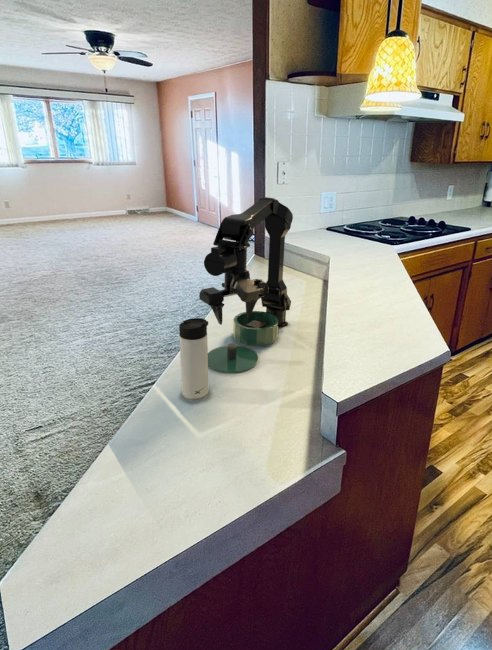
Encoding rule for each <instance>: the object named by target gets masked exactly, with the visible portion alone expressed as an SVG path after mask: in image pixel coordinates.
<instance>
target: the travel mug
mask: <svg viewBox="0 0 492 650" xmlns="http://www.w3.org/2000/svg"><path fill="white" fill-rule="evenodd" d="M208 326H209V321H208V320H207V319H205V318H202V317H192V318H188V319H185V320H182V322H181V323H180V324H179V326H178V329H179V330H178V331H179V334H178V335H179V356H180V357H179V358H180V374H181V375H180V377H181V394H182V395H181V396H182V398H183V399H185V400H187V401H190V402H196V401H197V402H198V401H201V400H204V399H205V398H207V397H208V395H209V367H208V353H209V349H208Z"/></svg>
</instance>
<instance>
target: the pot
mask: <svg viewBox="0 0 492 650" xmlns="http://www.w3.org/2000/svg"><path fill="white" fill-rule="evenodd" d="M253 320H256V321H259V322H263V323H266V327H265V328H249V327H246V324H248V323H250V322H252V321H253ZM232 322H233V324H232V325H233V330H232V332H233V333H232V334H233V335H232V336H233V339H234V342H236V343H238V344H240V345H241V346H242V345H243V346H244V347H253V348H259V347H266V346H270V345H273V344H274V343H276V342H277V340H278V337H279V336H278V335H279V327H278V319H277V317H276V316H274V315H273V314H271V313H267V312H266V311H261V310H253V311H252V314H251V316H250V317H247V314H246V311H244V312H240V313H238V314H236V315H235V316H234V317H233V321H232Z"/></svg>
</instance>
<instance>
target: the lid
mask: <svg viewBox="0 0 492 650" xmlns="http://www.w3.org/2000/svg"><path fill="white" fill-rule="evenodd" d="M258 362H259V355H258V354H257V352H255V351H254V350H253V349H252V348H250V347H247V346H244V345H243V346H242V345H237V344H236V343H235V342H230V343H228V344H227V345H223V346H218V347H215V348H213V349H211V350H209V351H208V368H210V369H211V370H213V371H214V372H215V371H216V372H218V373H224V374H238V373H243V372H247V371H249V370H251V369H253V368H254V367H255V366H256V365H257V364H258Z"/></svg>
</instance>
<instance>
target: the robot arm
mask: <svg viewBox="0 0 492 650" xmlns="http://www.w3.org/2000/svg"><path fill="white" fill-rule="evenodd" d="M293 219H294V215H293V213H292V211H291V210H290V208H289V207H288V206H286V205H284V204H283V203H281V202H280V201H279V200H278V199H277V198H276V197H267V196H262V197H260V198H259V199H258V201H256V202H255V203H254V204H252V205H251V206H250V207H248V208H247V209H245V210H244V211H243V212H241V213H236V214H235V213H234V214H231V215H230V214H229V215H228V216H225V217H224V218H223V219H222V221H221V222H220V225H219V227H218V230H217V232H216V235H215V238H214V240H213V244H212V245H213V246H212V247H211V248H210V252H209V253H207V254H206V255H205V257H204V260H203V267H204V269H205V270H206V272H207V273H208V274H209V275H211V276H213V277H218V276H221V275H223V274H224V282H221V287H222V288H224V289H220V290H219V289H218V288H216V287H212V286H211V287H207V288H202V289H201V290H200V292H199V297H198V298H199V301H202V302H203V303H205V304H206V305H208V306H210V308H211V310H212V312H213V314H214V317H215V318H216V321H217V323H218V325H220V326H222V325H223V307H224V306H225V303H223V302H224V301H225V298H227V297H232V296H238V298H239V299H240V301H241V302H243V303H245V312H246V314H247V317H250V316H251V314H252V311H254V310H255V307H256V304H257V302H258V301H259V300H260V302H261V306H262V307H263V308H265V312H267V313H271V314H273V315H274V316H276V317H277V319H278V328H282V327H284V326H287V325H289V322H287V319H286V318H287V316H286V315H287V311H290V310H291V306H292V300H291V298H290V297H289V295H288V287H287V285H286V283H285V282H284V280H283V279H284V261H285V260H284V259H285V242H286V241H285V240H286V236H287V234H288V232H289V231H290V230H291V227H292V222H293ZM263 221H264V229H265V230H266V232H267V234H268V237H269V238H268V239H269V240H268V242H269V243H268V261H267V263H268V265H267V280H266V281H264V279H262V278H260V279H259V278H253V279H252V278H251V273H250V271H249V270H247V261H248V260H247V256H248V248H250V247H251V244H250V243H249V241H250V239H251V237H253V235H254V234H255V233H254V229H255V228H256V227H257V226H258V225H260V223H262V222H263Z"/></svg>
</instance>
